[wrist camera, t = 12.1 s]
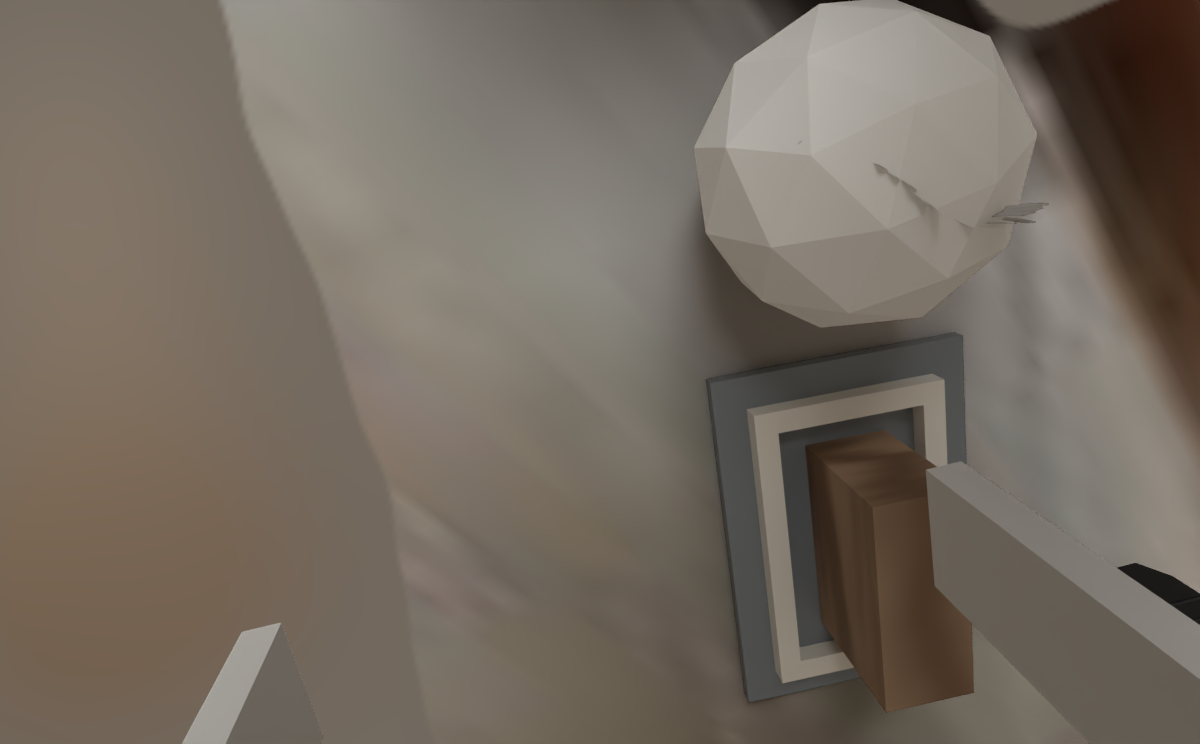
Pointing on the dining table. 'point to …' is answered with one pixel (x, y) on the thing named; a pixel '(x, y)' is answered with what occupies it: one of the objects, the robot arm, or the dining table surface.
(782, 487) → the grey flat frame
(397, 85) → the dining table surface
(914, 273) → the geodesic sphere
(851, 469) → the walnut block
